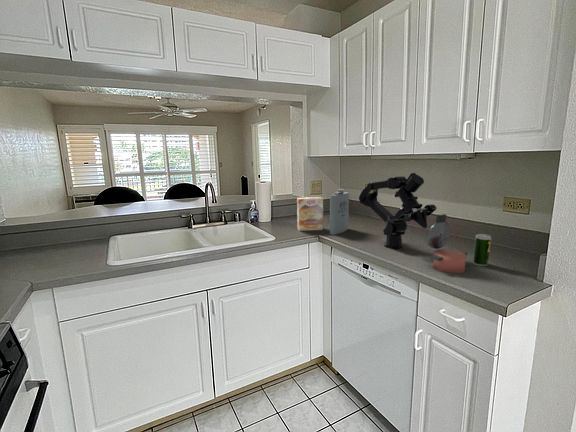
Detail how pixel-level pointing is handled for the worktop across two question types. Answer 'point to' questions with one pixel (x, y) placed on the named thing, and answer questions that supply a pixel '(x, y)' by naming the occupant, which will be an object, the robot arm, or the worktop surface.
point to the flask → (339, 212)
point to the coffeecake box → (310, 213)
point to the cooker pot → (449, 260)
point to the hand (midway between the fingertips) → (425, 227)
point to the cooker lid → (438, 232)
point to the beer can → (482, 249)
